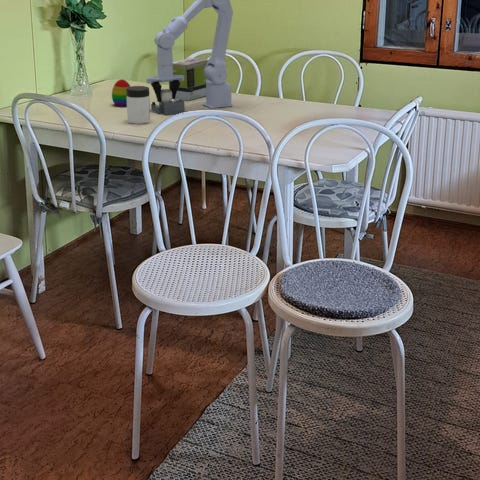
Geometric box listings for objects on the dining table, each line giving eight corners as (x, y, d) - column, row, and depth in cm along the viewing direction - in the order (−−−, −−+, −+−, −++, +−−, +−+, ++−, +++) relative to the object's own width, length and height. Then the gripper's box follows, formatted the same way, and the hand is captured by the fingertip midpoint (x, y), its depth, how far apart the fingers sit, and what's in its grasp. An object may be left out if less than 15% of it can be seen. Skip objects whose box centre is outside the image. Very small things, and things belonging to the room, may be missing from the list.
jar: (132, 125, 283) (131, 91, 278) (122, 120, 289) (121, 87, 284) (155, 122, 287) (154, 88, 283) (145, 117, 294) (143, 84, 289)
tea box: (191, 92, 337) (191, 56, 331) (210, 95, 331) (210, 59, 326) (168, 98, 325) (167, 61, 320) (187, 101, 320) (187, 64, 314)
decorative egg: (108, 106, 311) (107, 80, 307) (118, 102, 318) (117, 76, 314) (127, 108, 308) (126, 82, 304) (137, 103, 315) (136, 78, 311)
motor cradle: (176, 107, 310) (176, 93, 308) (187, 112, 301) (187, 98, 299) (151, 109, 305) (150, 96, 303) (161, 115, 297) (161, 101, 295)
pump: (170, 104, 308) (169, 88, 306) (174, 106, 304) (174, 90, 302) (157, 105, 306) (156, 89, 304) (161, 107, 302) (160, 91, 300)
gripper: (178, 61, 306) (179, 97, 311) (143, 64, 299) (144, 100, 304) (186, 64, 300) (186, 100, 305) (150, 67, 294) (151, 104, 299)
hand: (166, 101), depth 304 cm, fingers closed on pump, 5 cm apart
